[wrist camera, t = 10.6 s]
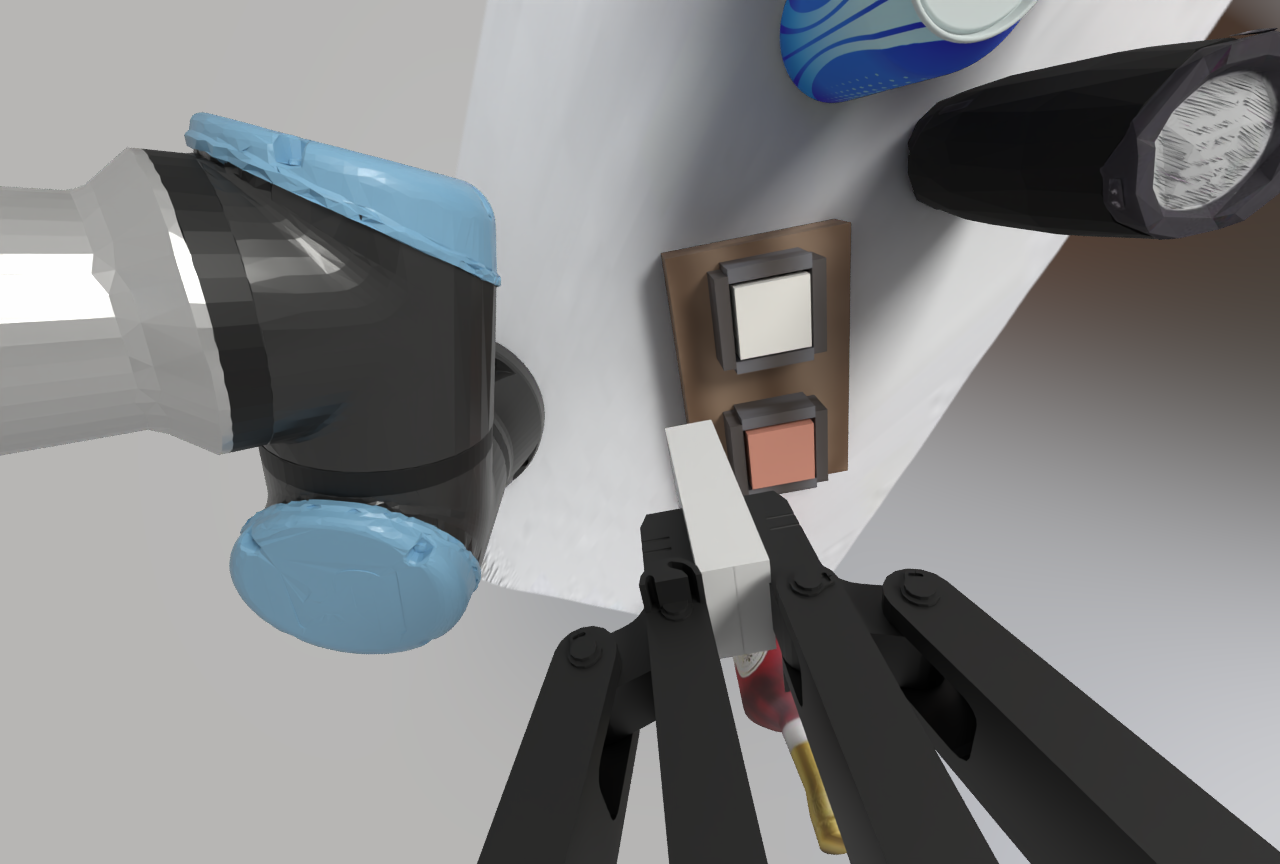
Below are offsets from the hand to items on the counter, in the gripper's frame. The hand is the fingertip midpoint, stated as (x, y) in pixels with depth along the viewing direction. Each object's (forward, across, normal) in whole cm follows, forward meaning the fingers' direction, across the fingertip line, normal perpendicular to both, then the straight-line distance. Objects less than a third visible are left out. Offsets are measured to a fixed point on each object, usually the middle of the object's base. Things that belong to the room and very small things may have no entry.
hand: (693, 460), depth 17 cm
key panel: (+28, +9, -9) cm, 31 cm away
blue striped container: (+29, +16, +14) cm, 36 cm away
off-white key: (+24, +9, -3) cm, 26 cm away
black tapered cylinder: (+29, +25, +5) cm, 38 cm away
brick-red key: (+24, +9, -15) cm, 30 cm away
